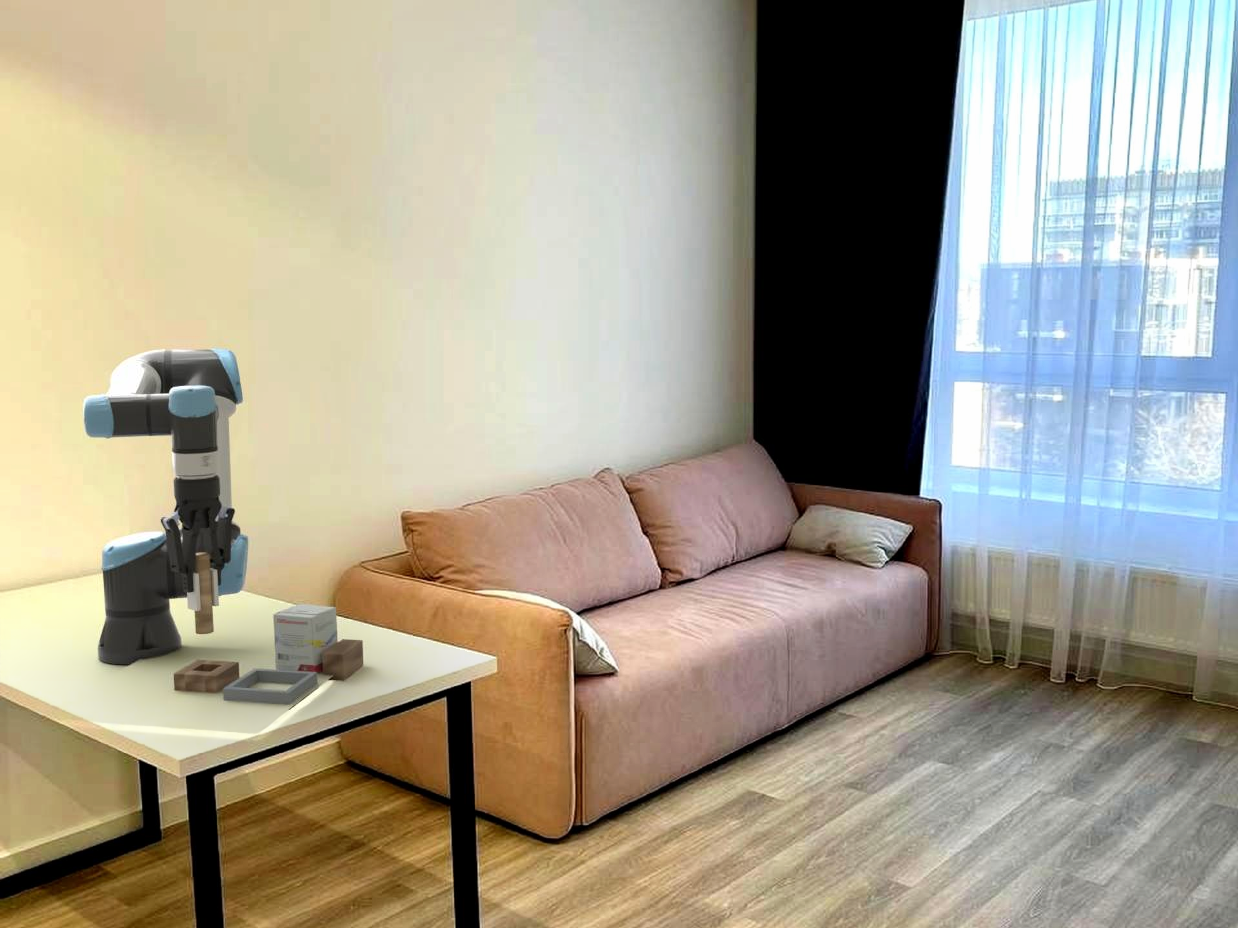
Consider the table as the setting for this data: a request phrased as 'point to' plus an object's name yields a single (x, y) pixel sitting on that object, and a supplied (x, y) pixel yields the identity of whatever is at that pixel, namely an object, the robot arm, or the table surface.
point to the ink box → (304, 637)
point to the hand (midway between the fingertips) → (203, 606)
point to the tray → (243, 693)
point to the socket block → (206, 676)
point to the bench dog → (343, 659)
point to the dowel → (204, 595)
